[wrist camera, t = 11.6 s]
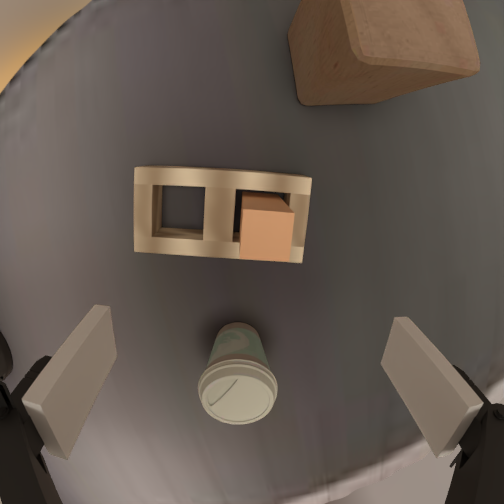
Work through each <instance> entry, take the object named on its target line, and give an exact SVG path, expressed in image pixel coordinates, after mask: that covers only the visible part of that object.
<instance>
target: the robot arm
mask: <svg viewBox="0 0 504 504" xmlns="http://www.w3.org/2000/svg"><path fill="white" fill-rule="evenodd" d="M116 358H117V351H116V345H115V339H114V332H113V326H112V318H111V311H110V306H104V305H94V306H93V307H92V309H91V310H90V311H89V312H88V313H87V315H86V316H85V317H84V318H83V319H82V321H81V322H80V323H79V324H78V326H77V327H76V328H75V329H74V330H73V332H72V333H71V334H70V335H69V337H68V338H67V339H66V340H65V342H64V343H63V344H62V345H61V347H60V348H59V349H58V351H57V352H56V353H55V354H54V356H53V357H50V356H44V357H43V358H41V359H39V360H38V361H36V362H35V364H34V365H33V366H32V367H31V369H30V371H28V372H27V374H26V375H25V378H23V379H22V380H21V381H20V383H19V384H18V385H17V387H16V388H15V389H14V391H13V392H12V393H11V395H10V393H9V390H8V388H7V386H6V384H5V383H3V382H2V381H3V380H4V379H5V378H6V377H7V376H8V375H9V374H10V372H11V370H12V357H11V353H10V350H9V348H8V345H7V343H6V341H5V339H4V337H3V336H2V334H1V333H0V498H1V501H2V504H63V503H62V501H61V499H60V497H59V495H58V492H57V490H56V488H55V486H54V483H53V481H52V478H51V476H50V473H49V471H48V468H47V466H46V463H45V460H44V458H43V456H42V454H41V452H40V451H41V449H42V447H43V445H45V447H46V449H47V450H48V452H49V454H51V455H54V456H57V457H60V458H63V459H66V460H68V458H69V456H70V453H71V451H72V449H73V447H74V444H75V442H76V440H77V438H78V436H79V433H80V431H81V429H82V427H83V425H84V423H85V420H86V418H87V416H88V414H89V412H90V410H91V408H92V406H93V404H94V402H95V400H96V398H97V396H98V394H99V392H100V389H101V387H102V385H103V383H104V382H105V380H106V378H107V376H108V374H109V372H110V370H111V368H112V366H113V364H114V362H115V360H116ZM381 365H382V367H383V369H384V370H385V372H386V373H387V375H388V377H389V378H390V380H391V382H392V383H393V385H394V386H395V388H396V390H397V391H398V393H399V395H400V396H401V398H402V400H403V401H404V403H405V405H406V406H407V408H408V410H409V411H410V413H411V415H412V416H413V418H414V420H415V422H416V423H417V425H418V427H419V428H420V430H421V432H422V434H423V435H424V437H425V439H426V441H427V442H428V444H429V446H430V448H431V449H432V451H433V453H434V455H435V456H436V458H440V457H443V456H446V455H449V454H451V453H452V452H453V451H454V449H455V448H456V446H457V445H458V443H459V445H460V446H461V448H462V449H461V451H460V452H459V454H458V455H457V456H456V458H455V459H454V460H453V462H452V463H451V465H450V467H452V466H453V465H454V464H455V463H456V466H455V470H454V474H453V477H452V481H451V485H450V488H449V491H448V495H447V498H446V501H445V504H504V405H502V404H498V403H495V404H491V403H490V401H489V400H488V399H487V398H486V397H485V396H484V394H483V393H482V392H481V391H480V390H479V389H478V387H477V386H476V385H474V383H473V382H472V380H469V377H468V376H467V375H466V374H465V372H464V371H462V370H461V369H459V368H458V367H456V366H455V365H451V364H450V363H449V362H448V360H447V359H446V358H445V357H444V356H443V355H442V354H441V353H440V351H439V350H438V349H437V348H436V347H435V346H434V345H433V344H432V343H431V342H430V340H429V339H428V338H427V337H426V336H425V335H424V334H423V333H422V332H421V331H420V330H419V328H418V327H417V326H416V325H415V324H414V323H413V322H412V321H411V320H410V319H409V318H408V317H394V321H393V325H392V328H391V332H390V335H389V338H388V342H387V345H386V348H385V351H384V355H383V358H382V361H381Z"/></svg>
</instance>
